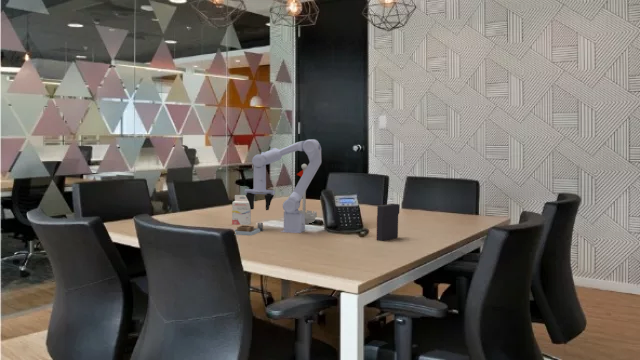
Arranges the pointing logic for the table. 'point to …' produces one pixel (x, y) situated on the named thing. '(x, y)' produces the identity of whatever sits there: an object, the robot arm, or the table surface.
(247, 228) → the brown wooden frame
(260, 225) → the metal knob
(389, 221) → the upright black prism
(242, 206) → the ink cartridge box
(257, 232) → the tray
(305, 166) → the flag stand
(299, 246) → the table surface
